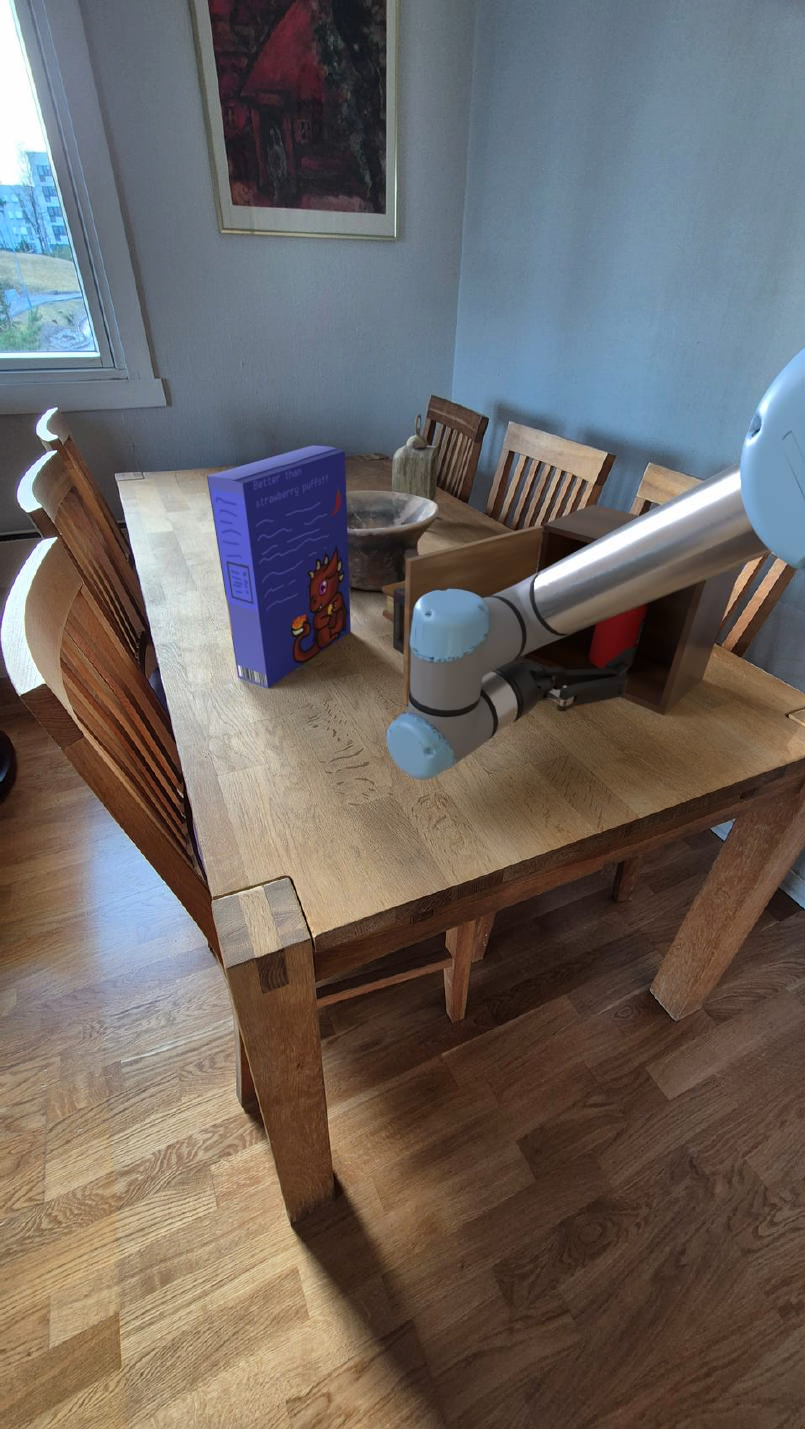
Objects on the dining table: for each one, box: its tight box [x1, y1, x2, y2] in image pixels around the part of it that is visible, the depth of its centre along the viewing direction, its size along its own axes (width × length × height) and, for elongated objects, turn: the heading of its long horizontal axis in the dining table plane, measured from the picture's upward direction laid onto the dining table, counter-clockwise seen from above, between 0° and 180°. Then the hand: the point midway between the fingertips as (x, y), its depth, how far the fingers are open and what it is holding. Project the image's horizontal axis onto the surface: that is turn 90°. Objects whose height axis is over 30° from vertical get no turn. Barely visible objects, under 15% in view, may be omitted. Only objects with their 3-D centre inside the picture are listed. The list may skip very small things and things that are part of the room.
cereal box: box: [206, 444, 352, 689], centre depth 94 cm, size 22×6×30 cm, turn 149°
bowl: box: [346, 490, 441, 592], centre depth 124 cm, size 27×26×15 cm
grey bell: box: [391, 413, 439, 503], centre depth 152 cm, size 14×9×25 cm, turn 170°
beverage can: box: [589, 604, 647, 669], centre depth 96 cm, size 7×7×12 cm
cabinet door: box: [392, 524, 544, 706], centre depth 92 cm, size 6×24×22 cm, turn 127°
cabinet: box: [524, 504, 742, 716], centre depth 94 cm, size 14×24×22 cm, turn 47°
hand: (585, 639), depth 88 cm, fingers open, 13 cm apart
